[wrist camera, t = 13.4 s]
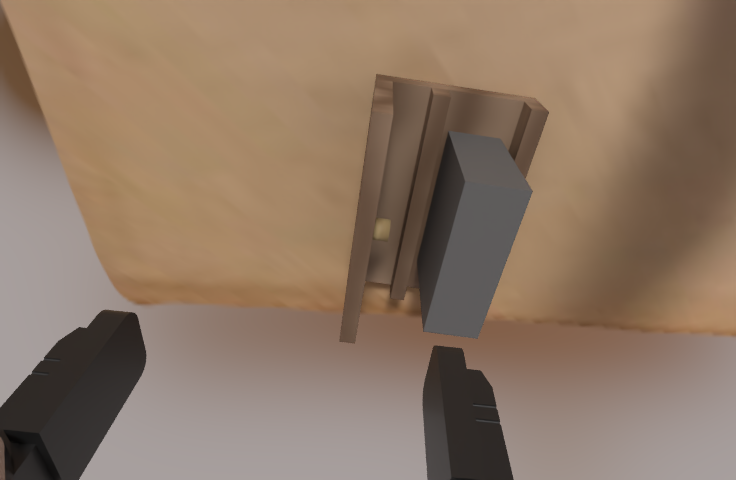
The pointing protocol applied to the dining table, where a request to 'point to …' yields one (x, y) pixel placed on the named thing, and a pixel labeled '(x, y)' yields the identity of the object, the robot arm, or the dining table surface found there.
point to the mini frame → (468, 232)
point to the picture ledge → (419, 172)
